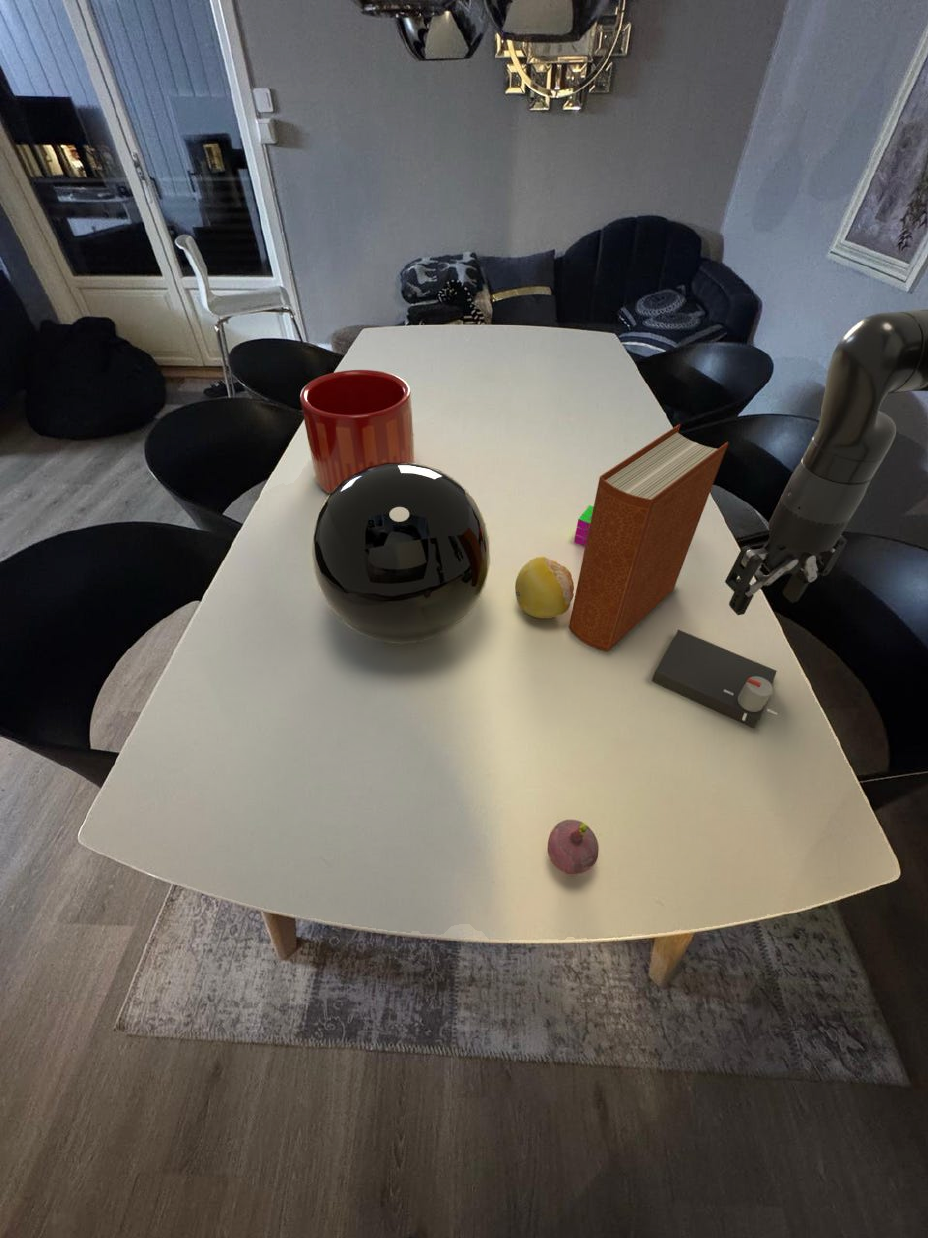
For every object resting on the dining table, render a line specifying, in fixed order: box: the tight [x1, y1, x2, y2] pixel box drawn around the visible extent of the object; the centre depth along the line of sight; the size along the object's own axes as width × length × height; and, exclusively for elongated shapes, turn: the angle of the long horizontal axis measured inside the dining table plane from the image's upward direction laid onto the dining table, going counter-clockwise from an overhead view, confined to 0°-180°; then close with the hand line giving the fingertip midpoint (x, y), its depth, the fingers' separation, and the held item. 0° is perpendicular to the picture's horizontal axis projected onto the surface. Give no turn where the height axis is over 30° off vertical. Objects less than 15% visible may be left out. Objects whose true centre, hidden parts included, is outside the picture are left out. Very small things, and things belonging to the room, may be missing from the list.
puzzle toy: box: [573, 504, 594, 547], centre depth 115 cm, size 6×6×6 cm
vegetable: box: [547, 819, 600, 876], centre depth 67 cm, size 6×6×10 cm
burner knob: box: [738, 676, 774, 712], centre depth 84 cm, size 4×4×4 cm
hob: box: [651, 629, 778, 729], centre depth 89 cm, size 18×13×3 cm
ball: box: [311, 462, 491, 644], centre depth 91 cm, size 28×28×28 cm
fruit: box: [514, 556, 575, 619], centre depth 99 cm, size 10×11×10 cm
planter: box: [299, 369, 416, 494], centre depth 126 cm, size 23×23×20 cm
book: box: [568, 423, 729, 653], centre depth 92 cm, size 23×8×30 cm, turn 136°
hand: (763, 604), depth 76 cm, fingers open, 8 cm apart
